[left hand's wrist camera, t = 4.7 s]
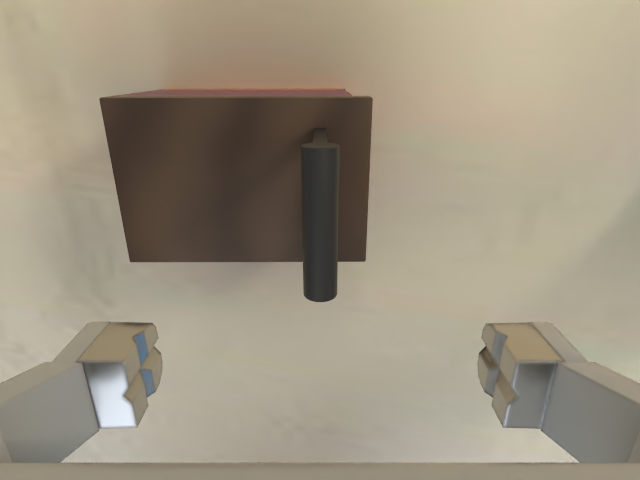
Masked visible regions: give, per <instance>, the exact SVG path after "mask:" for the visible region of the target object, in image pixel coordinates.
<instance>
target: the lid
mask: <svg viewBox="0 0 640 480" xmlns="http://www.w3.org/2000/svg"><path fill="white" fill-rule="evenodd" d="M100 104H101V109H102V115H103V120H104V125H105V131H106V136H107V141H108V147H109V152H110V157H111V163H112V168H113V173H114V179H115V184H116V189H117V195H118V200H119V205H120V211H121V216H122V221H123V227H124V232H125V237H126V243H127V248H128V253H129V258H130V262H303V284H304V296H305V297H306V298H307V299H309V300H311V301H315V302H326V301H330V300H332V299H334V298H335V297H336V295H337V262H364V261H365V260H366V239H367V216H368V192H369V169H370V146H371V122H372V97H370V96H110V97H102V98H100Z"/></svg>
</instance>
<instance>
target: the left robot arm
mask: <svg viewBox="0 0 640 480" xmlns="http://www.w3.org/2000/svg"><path fill="white" fill-rule="evenodd" d="M157 339H158V334H157V329H156V326H155V325H154V324H153V323H133V322H92V323H88V324H87V325H86V326H85V327H84V328H83V329H82V330H81V331H80V332H79V333H78V334H77V336H76V337H75V338H74V339H73V340H72V341H71V342H70V343H69V344H68V345H67V346H66V347H65V348H64V350H63V351H62V352H61V353H60V354H59V355H58V356H57V357H56V358H55V359H54V360H53V361H52V362H45V363H42V364H40V365H38V366H36V367H34V368H32V369H30V370H28V371H26V372H24V373H21V374H19V375H17V376H15V377H13V378H11V379H9V380H7V381H5V382H2V383H0V480H640V384H639V383H637V382H635V381H633V380H631V379H629V378H627V377H625V376H623V375H621V374H618V373H616V372H614V371H612V370H610V369H608V368H606V367H604V366H602V365H600V364H598V363H595V362H588V361H587V360H586V359H585V358H584V357H583V356H582V355H581V354H580V353H579V352H578V351H577V349H576V348H575V347H574V346H573V345H572V344H571V343H570V342H569V341H568V340H567V339H566V338H565V337H564V335H563V334H562V333H561V332H560V331H559V330H558V329H557V328H556V327H555V326H554V325H553V324H552V323H549V322H527V323H489V324H486V325H485V327H484V329H483V333H482V339H483V341H484V343H485V345H486V347H485V348H484V349H483V350H482V351H481V352H480V353H479V357H478V376H479V379H480V383H481V385H482V387H483V390H484V392H486V393H487V394H489V395H490V396H491V397H493V401H492V407H493V409H494V411H495V413H496V415H497V417H498V419H499V421H500V423H501V424H502V426H503V428H538V429H541V431H542V432H543V433H545V434H546V435H547V436H548V437H550V438H551V439H552V440H553V441H554V442H556V443H557V444H558V445H559V446H561V447H562V448H563V449H564V450H566V451H567V452H568V453H569V454H570V455H572V456H573V457H574V458H575V459H577V460H578V461H579V462H580V463H60V462H61V461H62V460H64V459H65V458H66V457H67V456H68V455H70V454H71V453H72V452H73V451H75V450H76V449H77V448H78V447H80V446H81V445H82V444H83V443H84V442H86V441H87V440H88V439H89V438H91V437H92V436H93V435H94V434H96V433H97V432H98V431H99V429H102V428H137V426H138V425H139V423H140V421H141V419H142V417H143V415H144V413H145V411H146V409H147V407H148V401H147V397H149V396H150V395H151V394H153V393H154V392H156V389H157V387H158V385H159V383H160V379H161V375H162V357H161V353H160V352H159V351H158V350H157V349H156V348H155V347H154V345H155V343H156V341H157Z"/></svg>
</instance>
